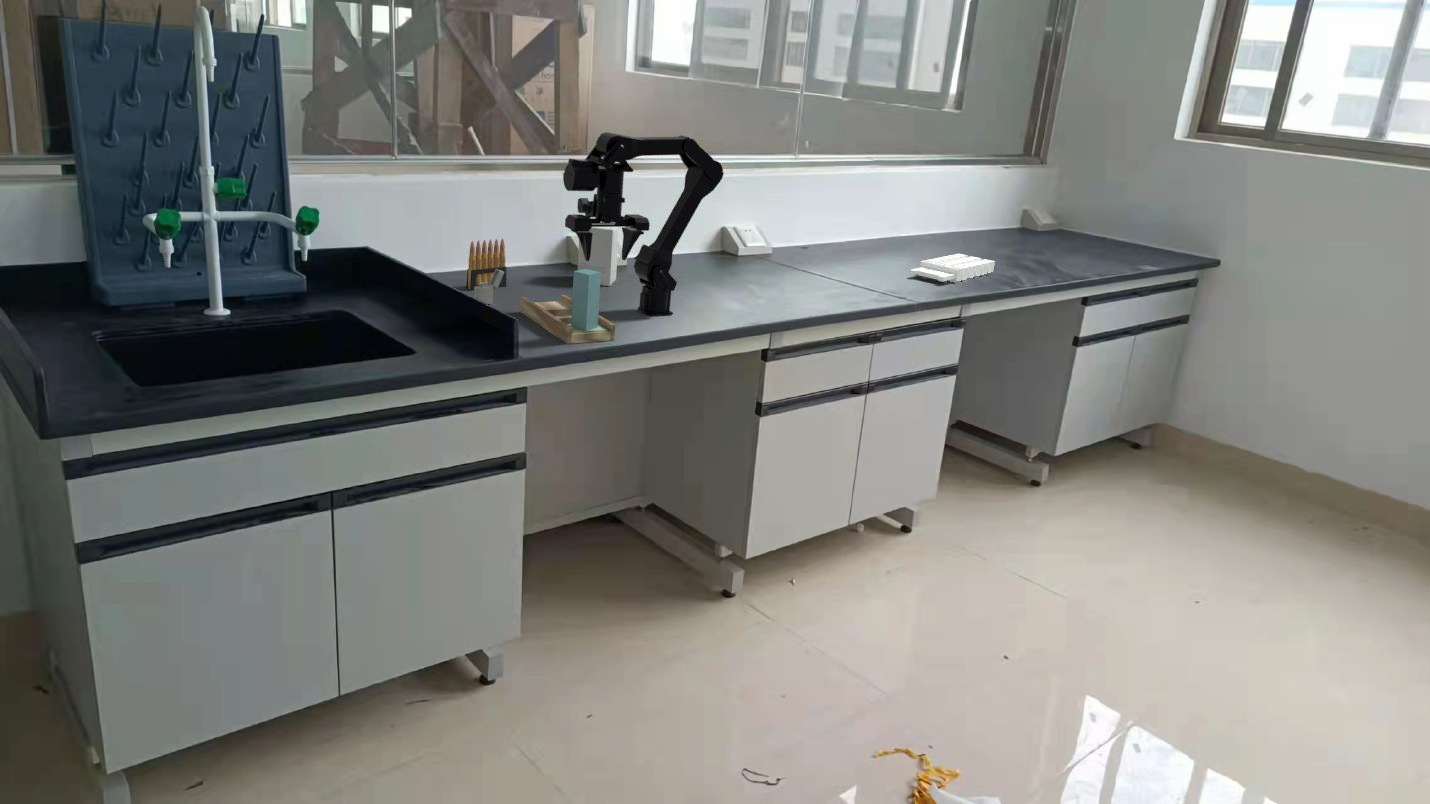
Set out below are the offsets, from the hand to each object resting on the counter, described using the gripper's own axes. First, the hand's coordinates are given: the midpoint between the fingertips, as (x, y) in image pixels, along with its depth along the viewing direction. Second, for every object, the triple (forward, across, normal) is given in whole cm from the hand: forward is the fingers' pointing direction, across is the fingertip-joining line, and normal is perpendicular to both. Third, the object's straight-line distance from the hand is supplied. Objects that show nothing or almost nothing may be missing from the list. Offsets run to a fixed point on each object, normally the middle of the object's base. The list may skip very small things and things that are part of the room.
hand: (605, 260), depth 228 cm
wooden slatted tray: (+13, +12, +5) cm, 18 cm away
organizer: (+14, -133, -20) cm, 135 cm away
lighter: (+13, +22, -15) cm, 30 cm away
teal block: (+11, +12, +15) cm, 22 cm away
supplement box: (+13, -14, -32) cm, 37 cm away
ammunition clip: (+13, +17, -30) cm, 37 cm away
